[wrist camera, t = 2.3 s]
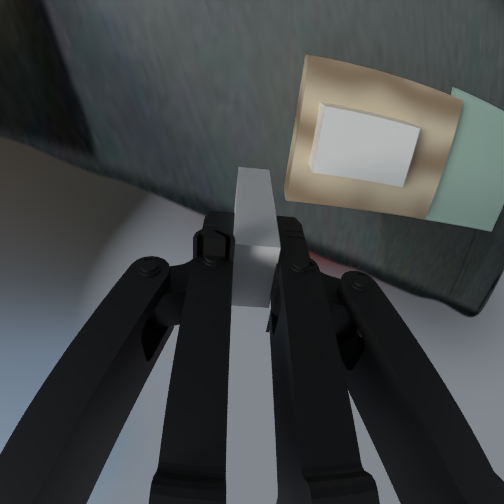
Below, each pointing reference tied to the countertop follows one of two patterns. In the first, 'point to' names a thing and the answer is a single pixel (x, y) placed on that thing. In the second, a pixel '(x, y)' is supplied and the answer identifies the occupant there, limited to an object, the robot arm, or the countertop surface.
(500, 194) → the mat
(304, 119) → the wooden board
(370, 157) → the white rectangular block
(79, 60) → the countertop surface
